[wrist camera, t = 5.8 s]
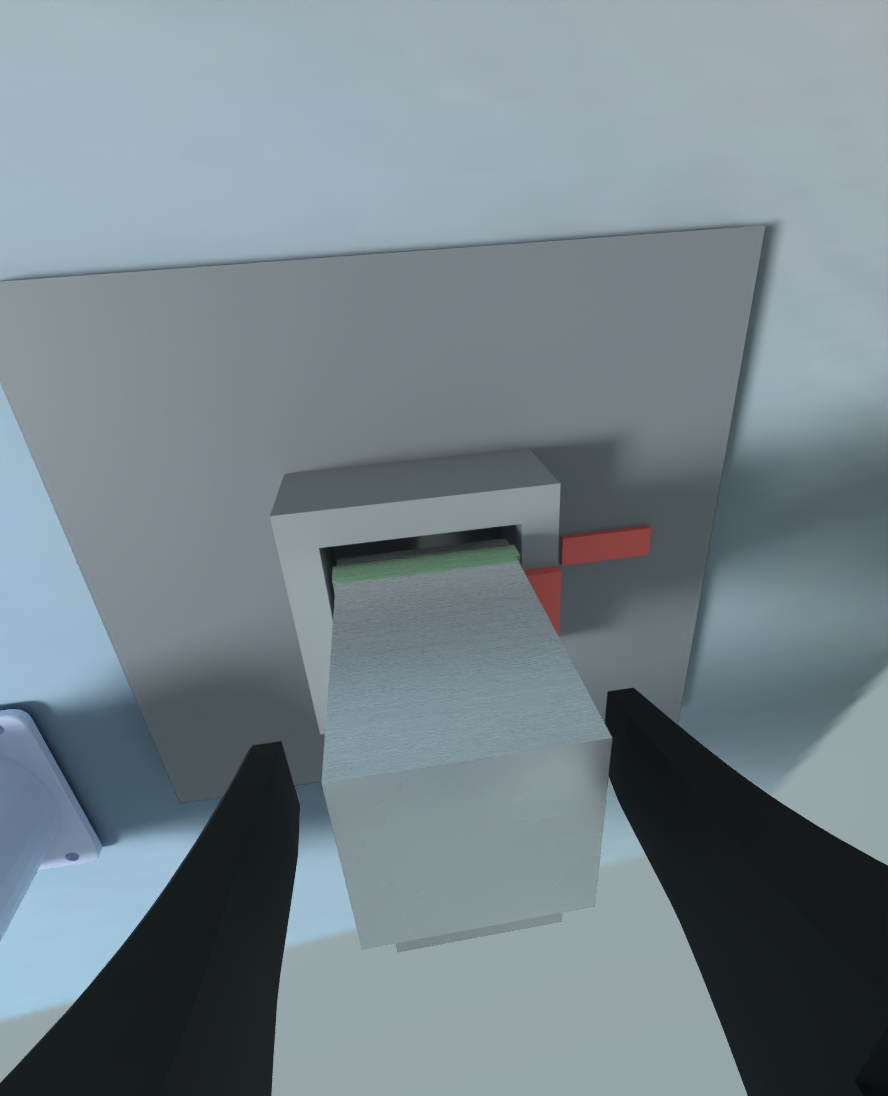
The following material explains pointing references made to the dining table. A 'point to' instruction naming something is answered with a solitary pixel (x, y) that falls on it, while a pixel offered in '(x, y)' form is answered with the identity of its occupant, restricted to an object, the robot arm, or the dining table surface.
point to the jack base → (379, 457)
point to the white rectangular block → (458, 749)
